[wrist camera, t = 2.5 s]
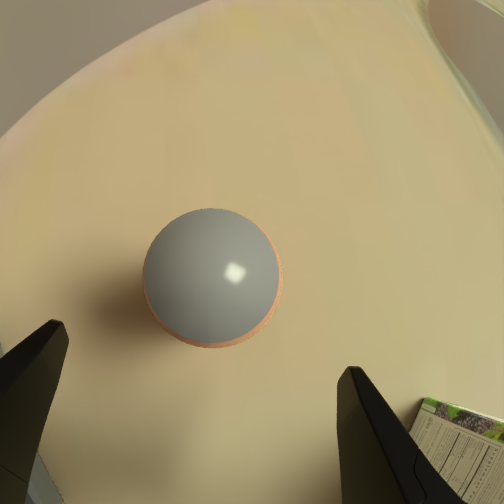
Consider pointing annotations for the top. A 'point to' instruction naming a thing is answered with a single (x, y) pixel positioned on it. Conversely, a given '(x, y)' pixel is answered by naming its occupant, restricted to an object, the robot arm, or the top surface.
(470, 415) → the syrup box
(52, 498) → the tray
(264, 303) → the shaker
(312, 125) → the top surface
